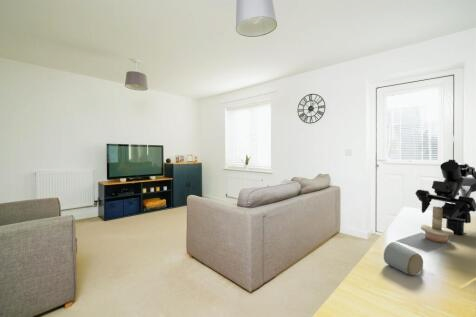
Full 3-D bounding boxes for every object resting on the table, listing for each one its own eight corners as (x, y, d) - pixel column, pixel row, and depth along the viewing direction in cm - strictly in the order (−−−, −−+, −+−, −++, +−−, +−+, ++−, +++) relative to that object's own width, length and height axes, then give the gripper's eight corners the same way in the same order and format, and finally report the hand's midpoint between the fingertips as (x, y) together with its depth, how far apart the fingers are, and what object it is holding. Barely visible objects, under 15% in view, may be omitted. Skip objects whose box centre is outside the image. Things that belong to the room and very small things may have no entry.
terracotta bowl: (430, 235, 98) (430, 227, 97) (451, 241, 91) (451, 232, 91) (421, 238, 94) (421, 229, 94) (442, 245, 88) (443, 235, 88)
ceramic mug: (409, 279, 66) (410, 254, 66) (382, 265, 74) (383, 243, 73) (430, 272, 70) (432, 248, 70) (403, 260, 78) (404, 238, 77)
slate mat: (421, 233, 101) (421, 232, 101) (453, 243, 91) (453, 241, 91) (395, 242, 92) (395, 240, 92) (427, 253, 82) (427, 252, 82)
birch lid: (427, 225, 99) (428, 203, 99) (457, 233, 91) (459, 208, 90) (416, 229, 95) (417, 206, 94) (446, 237, 86) (448, 212, 85)
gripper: (418, 171, 101) (403, 198, 97) (475, 176, 84) (459, 209, 80) (427, 187, 105) (412, 213, 101) (483, 195, 88) (468, 227, 84)
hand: (435, 215), depth 92 cm, fingers open, 9 cm apart
